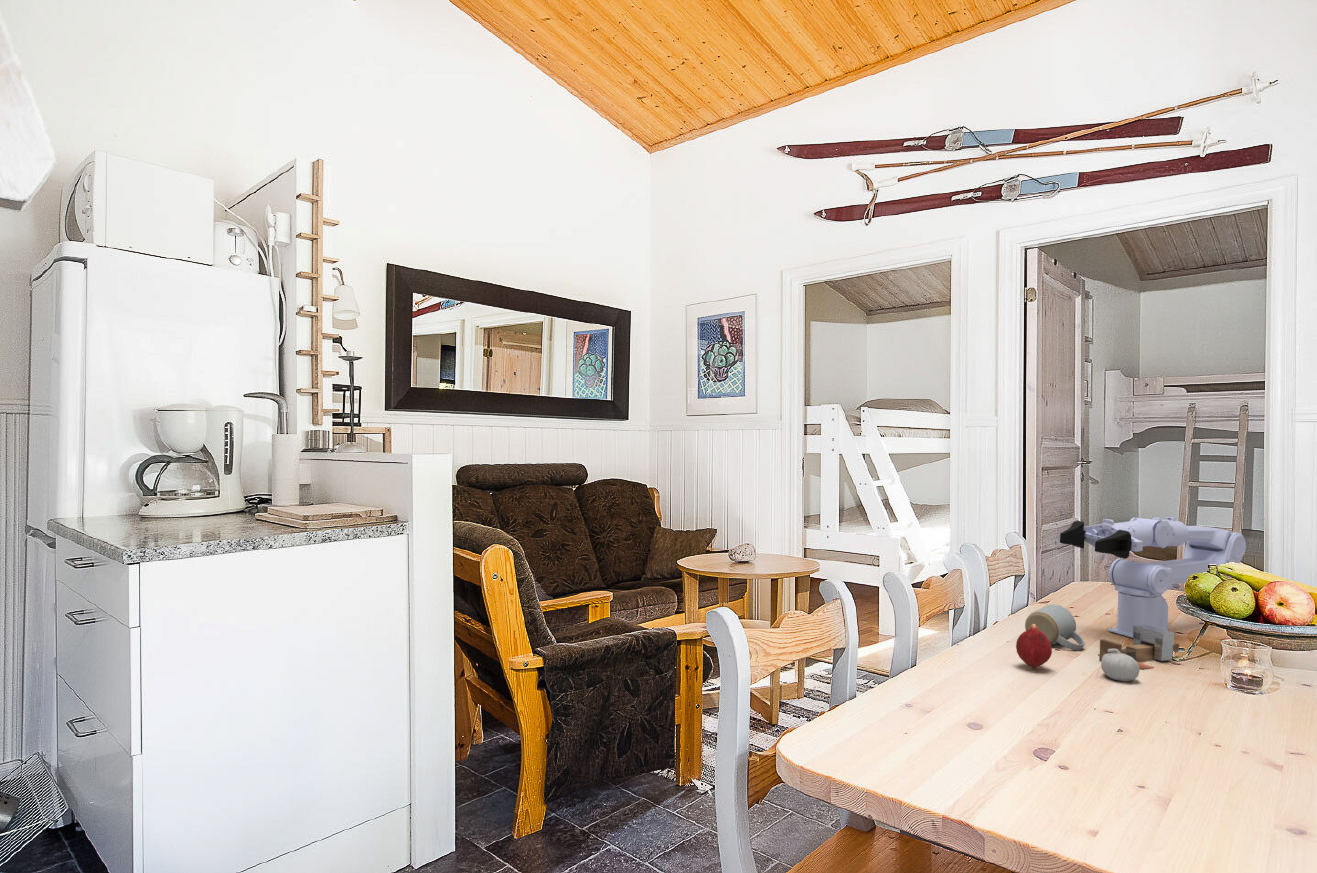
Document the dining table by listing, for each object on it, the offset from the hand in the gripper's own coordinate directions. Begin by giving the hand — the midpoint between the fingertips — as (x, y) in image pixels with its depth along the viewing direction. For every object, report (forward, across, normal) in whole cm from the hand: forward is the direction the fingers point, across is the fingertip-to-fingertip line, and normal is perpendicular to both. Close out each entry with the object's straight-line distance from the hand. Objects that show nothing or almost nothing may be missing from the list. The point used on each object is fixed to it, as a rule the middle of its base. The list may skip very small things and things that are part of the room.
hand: (1078, 542), depth 154 cm
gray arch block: (-4, +14, +20) cm, 25 cm away
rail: (-2, +14, +20) cm, 24 cm away
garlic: (+15, +19, +19) cm, 31 cm away
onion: (+24, +10, +19) cm, 32 cm away
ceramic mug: (+5, 0, +21) cm, 21 cm away
